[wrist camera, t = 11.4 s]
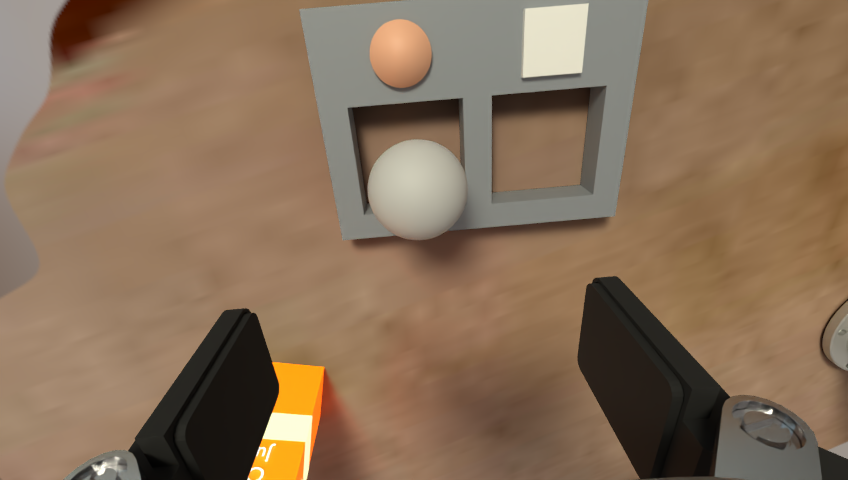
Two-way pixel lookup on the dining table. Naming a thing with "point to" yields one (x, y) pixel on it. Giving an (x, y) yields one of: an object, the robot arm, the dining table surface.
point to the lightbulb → (417, 189)
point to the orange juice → (291, 425)
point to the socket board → (477, 90)
